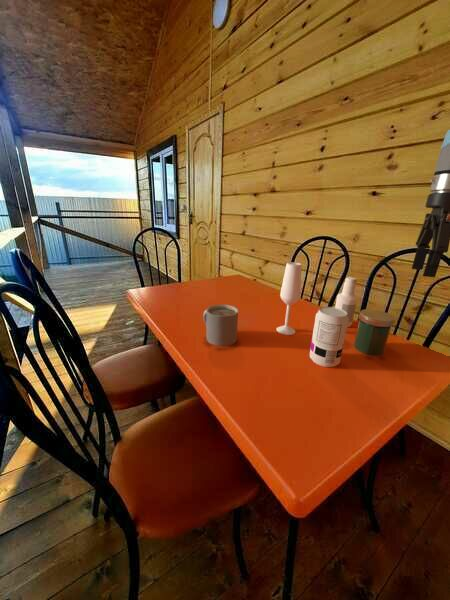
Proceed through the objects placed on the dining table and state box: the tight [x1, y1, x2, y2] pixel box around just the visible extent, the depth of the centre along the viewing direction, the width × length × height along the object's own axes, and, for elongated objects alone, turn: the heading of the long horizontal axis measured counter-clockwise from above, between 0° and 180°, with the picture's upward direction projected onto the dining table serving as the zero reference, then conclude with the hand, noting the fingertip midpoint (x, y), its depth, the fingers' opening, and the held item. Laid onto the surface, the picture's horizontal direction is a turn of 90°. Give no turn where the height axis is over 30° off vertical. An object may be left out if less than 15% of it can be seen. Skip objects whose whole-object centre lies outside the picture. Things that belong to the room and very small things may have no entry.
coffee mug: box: [202, 304, 239, 347], centre depth 83 cm, size 13×10×10 cm
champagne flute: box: [275, 261, 303, 336], centre depth 86 cm, size 7×7×24 cm
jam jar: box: [353, 319, 392, 357], centre depth 78 cm, size 8×8×10 cm
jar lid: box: [358, 308, 395, 327], centre depth 76 cm, size 9×9×2 cm
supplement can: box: [308, 306, 349, 368], centre depth 70 cm, size 8×8×15 cm
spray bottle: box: [334, 276, 358, 328], centre depth 94 cm, size 7×7×18 cm
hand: (422, 272), depth 76 cm, fingers open, 10 cm apart
